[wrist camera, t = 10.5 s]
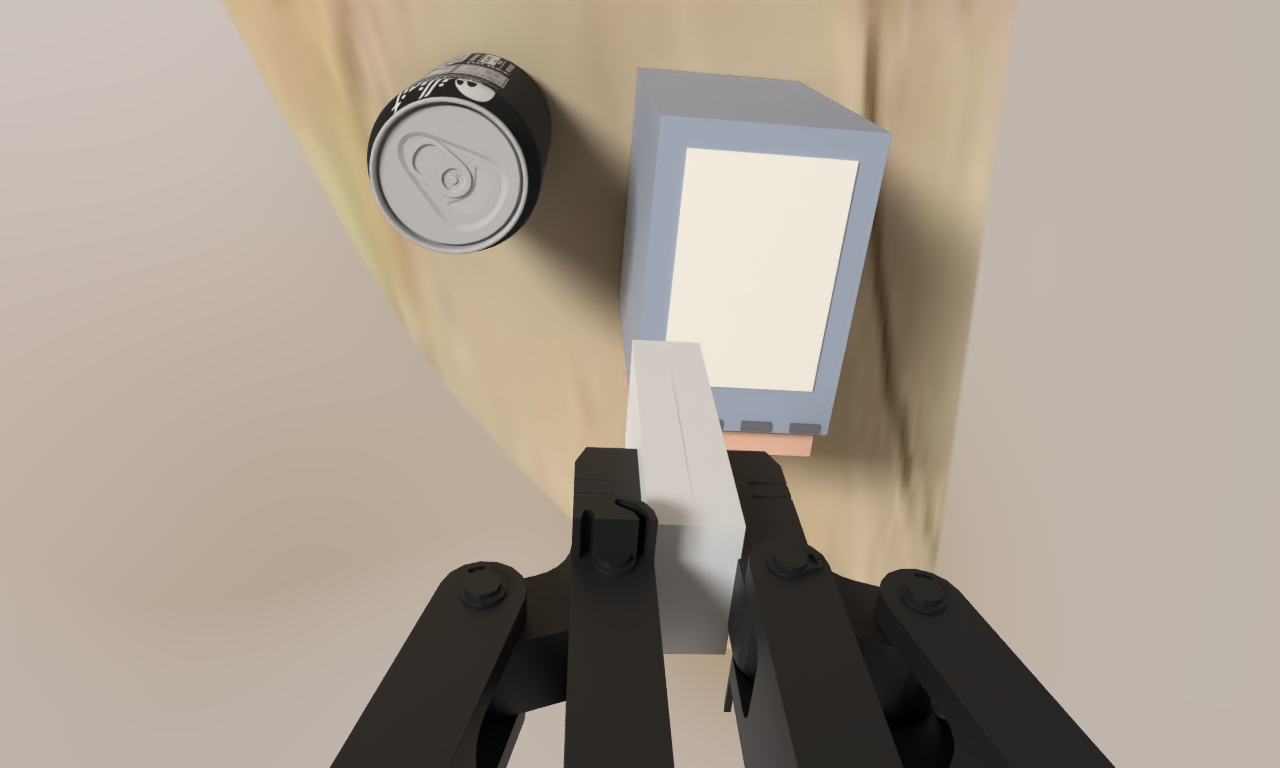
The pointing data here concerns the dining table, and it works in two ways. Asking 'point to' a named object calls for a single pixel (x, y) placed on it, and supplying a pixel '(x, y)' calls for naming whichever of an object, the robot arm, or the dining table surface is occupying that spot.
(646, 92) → the block
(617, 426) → the dining table surface
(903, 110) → the dining table surface
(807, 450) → the stub
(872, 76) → the dining table surface
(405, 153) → the beverage can
